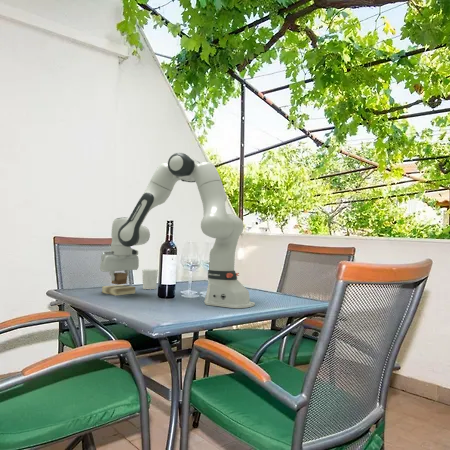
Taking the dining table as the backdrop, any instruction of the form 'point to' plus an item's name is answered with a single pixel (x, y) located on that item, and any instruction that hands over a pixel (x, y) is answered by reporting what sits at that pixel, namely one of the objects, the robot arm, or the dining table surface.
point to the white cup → (149, 278)
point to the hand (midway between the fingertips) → (119, 280)
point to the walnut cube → (120, 278)
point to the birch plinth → (118, 289)
